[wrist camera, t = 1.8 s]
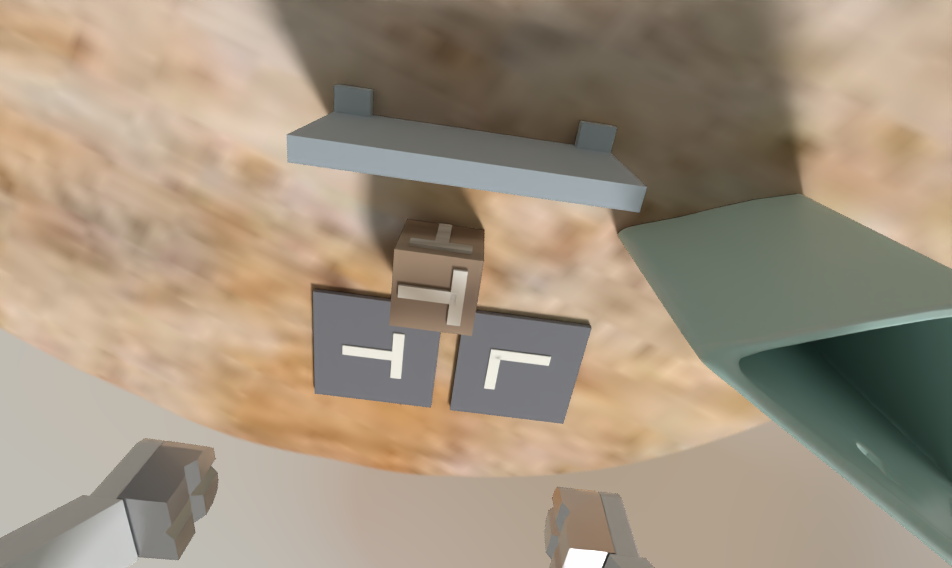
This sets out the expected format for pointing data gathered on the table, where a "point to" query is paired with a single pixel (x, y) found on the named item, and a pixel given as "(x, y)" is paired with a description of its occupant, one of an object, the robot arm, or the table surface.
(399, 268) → the cube
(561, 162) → the screen
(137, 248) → the table surface
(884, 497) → the planter
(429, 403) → the pad
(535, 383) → the pad
